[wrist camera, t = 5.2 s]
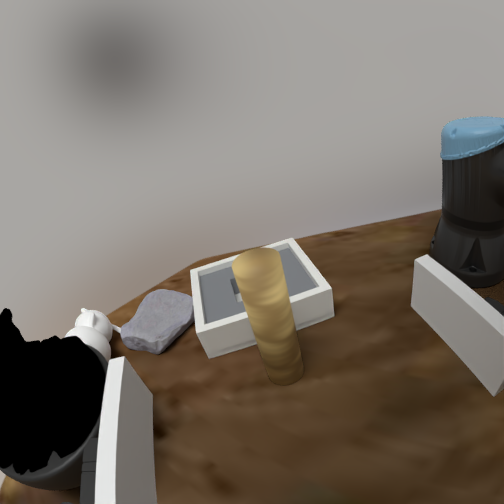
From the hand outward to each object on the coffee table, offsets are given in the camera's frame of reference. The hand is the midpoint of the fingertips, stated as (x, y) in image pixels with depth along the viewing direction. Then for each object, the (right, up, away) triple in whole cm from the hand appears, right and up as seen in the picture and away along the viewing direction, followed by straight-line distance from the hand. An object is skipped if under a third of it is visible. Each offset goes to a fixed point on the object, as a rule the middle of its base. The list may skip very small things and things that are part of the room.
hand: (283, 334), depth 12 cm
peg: (+3, -11, +23) cm, 26 cm away
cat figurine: (-25, -14, +32) cm, 43 cm away
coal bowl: (-22, -21, +17) cm, 35 cm away
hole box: (0, -5, +35) cm, 35 cm away
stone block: (-15, -9, +36) cm, 40 cm away
